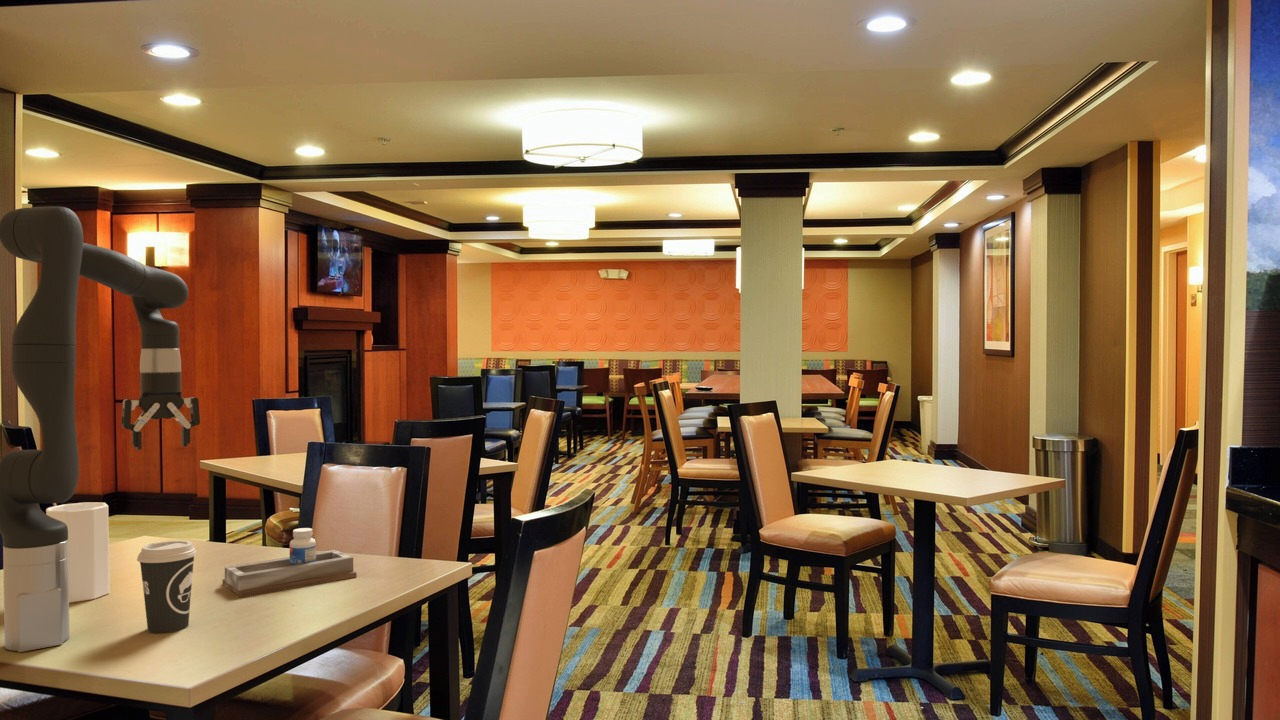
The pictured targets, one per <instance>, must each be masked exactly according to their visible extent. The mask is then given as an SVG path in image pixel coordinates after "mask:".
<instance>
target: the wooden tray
mask: <svg viewBox="0 0 1280 720" xmlns="http://www.w3.org/2000/svg"><path fill="white" fill-rule="evenodd" d="M357 576H358V575H357V572H356V571H354V557H353V556H351V555H349V554H347V553H346V554H345V553H344V552H341V551H338V550H336V549H332V550H326V551H318V552H316V562H310V563H304V564H297V565H291V566H290V556H287V557H281V558H274V559H267V560H261V561H255V562H254V561H253V562H248V563H247V562H246V563H242V564H234V565H228V566H224V578H223V579H222V585H223V586H225V587H226V588H228V589H230V590H231V591H232V592H233V593H234V594H236V595H238V596H240V597H241V598H246V597H252V596H257V595H262V594H268V593H269V594H270V593H274V592H280V591H286V590H292V589H297V588H301V587H307V586H315V585H320V584H326V583H329V582H330V581H331V582H336V580H337V581H342V579H343V580H347V579H354V578H357ZM325 582H326V583H325ZM331 582H330V583H331Z"/></svg>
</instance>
